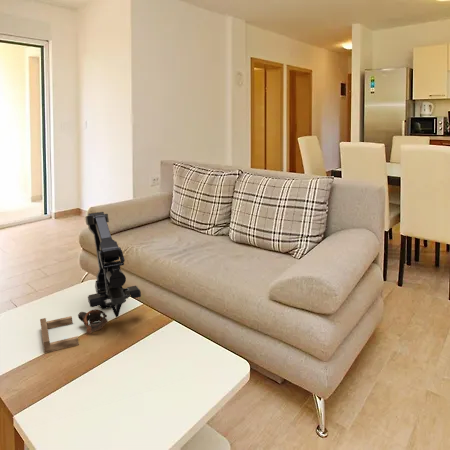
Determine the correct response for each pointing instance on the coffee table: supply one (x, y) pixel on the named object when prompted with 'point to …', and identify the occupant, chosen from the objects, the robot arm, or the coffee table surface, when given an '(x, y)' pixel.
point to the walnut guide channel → (57, 344)
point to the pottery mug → (93, 319)
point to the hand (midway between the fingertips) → (116, 316)
